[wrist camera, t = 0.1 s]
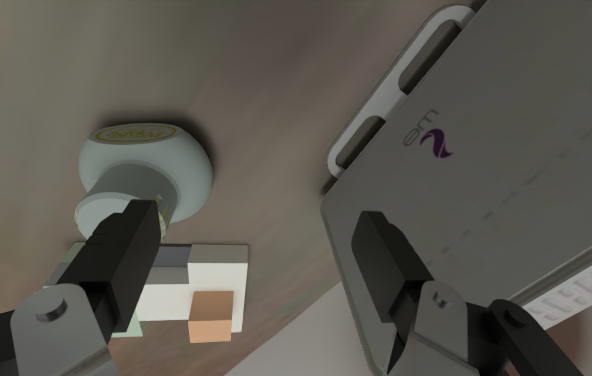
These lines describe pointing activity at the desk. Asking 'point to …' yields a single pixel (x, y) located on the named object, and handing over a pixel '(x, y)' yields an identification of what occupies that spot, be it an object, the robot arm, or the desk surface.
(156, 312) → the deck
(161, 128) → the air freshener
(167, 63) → the desk surface
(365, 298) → the network device
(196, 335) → the block
